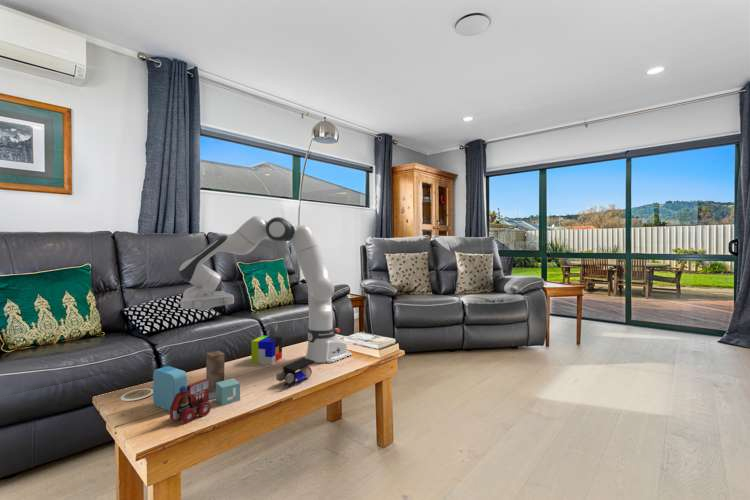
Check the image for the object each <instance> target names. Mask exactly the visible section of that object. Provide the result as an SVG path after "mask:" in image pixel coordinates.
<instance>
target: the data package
mask: <svg viewBox="0 0 750 500" xmlns="http://www.w3.org/2000/svg"><path fill="white" fill-rule="evenodd" d="M152 374H153V375H152V378H153V379H152V384H153V385H152V390H153V391H152V392H153V393H152V394H153V396H152V397H153V404H154V406H157V407H159V408H161V409H164V410H166V411H168V412H170V407H171V405H172V402H173V400H174V398H175V396H176V394H178V393H180V388H181V387H182V386H186V387H187V386H188V384H187V383H188V377H187V376H188V374H187V372H186V371H185V370H182V369H179V368H176V367H174V366H171V365H167V366H163V367H160V368H156V369H154V370H153V372H152ZM186 397H187V396H186Z"/></svg>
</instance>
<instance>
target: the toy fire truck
mask: <svg viewBox="0 0 750 500" xmlns="http://www.w3.org/2000/svg"><path fill="white" fill-rule="evenodd" d="M209 387H210V380H209V379H206V378H204V379H201V380H197V381H195V382H193V383H189V384H187V387H186V386H182V387H181V388H180V393H178V394H176V396H175V398H174V400H173V402H172V405H171V407H170V411H169V418H170V419H171V420H172V421H177V420H179V419H180V420H181V422H183V423H185V424H189V423H191V422H192V421H193V420H194V419H195V417H196V414H197V415H198V416H200V417H205V416H207V415H208V414H209V413H210V412H211V408H212V406H211V404H210V403H209V401H210V400H209ZM186 396H187V397H186Z"/></svg>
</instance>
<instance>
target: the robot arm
mask: <svg viewBox="0 0 750 500" xmlns="http://www.w3.org/2000/svg"><path fill="white" fill-rule="evenodd" d="M267 238H269V239H270V240H272V241H274V242H280V243H281V242H289V243H290V244H291V246H292V247H293V251H294V253H295V256H296V258H297V262H298V265H299V266H300V269H301V272H302V275H303V277H304V280H305V283H306V284H307V293H308V294H307V298H308V299H307V300H308V301H307V303H308V328H307V349H306V354H305V357H304V358H306V359H310V360H313V361H315V362H314V363H321V364H322V363H326V362H327V363H328V364H331V363H332V362H333V363H336V362H338V361H340V359H341V360H343V359H342V358H344V359H346V358H348V357H347V356H349V355H351V356H352V355H353V354H352V352H351V351H350V350H348V349H347V344H346V342H345V340H343V339H342V338H340V337H339V336H338V335H337V334H336V333H338V334H339V333H340V332H341V331H340V328H338V327H336V328H335V327H333V303H332V302H333V301H332V297H333V295H334V292H335V284H334V282H333V279H332V277H331V274H330V272H329V270H328V268H327V266H326V263H325V261H324V258H323V254H322V253H321V249H320V247H319V244H318V242H317V239H316V238H315V236H314V233H313V232H312V229H311V228H310V227H309V226H308V225H305V224H301V225H297V226H295V225H293V224H292V222H291V221H290V220H289V219H287V218H285V217H281V216H278V217H272V218H270V219H269V220H268V221H267V220H266V219H264V218H263V217H261V216H257V215H254V216H252V217H251V218H249V219H248V220H246V221H245V222H244V223H243V224H242V225H240V226H239V228H238V229H237V230H236V231H234V232H233V233H231V234H229V235H220V236H219V237H218V238H216V239H214V240H213V241H212V242H210V243H209V244H208V245H206V246H204V248H203V249H201V250H199V252H198V253H196V254H194V255H193V256H192V257H190V258H188V259H187V260H186V261H184V262H183V263H182V264H181V265H180V267H178V275H179V278H180V279H181V280H183V281H184V282H187V283H190V284H191V285H192V287H187V288H186V289H185V290H184V291H183V294H182V298H180V301H179V300H178V301H177V305H180V307H181V309H183V310H188V309H191V310H192V309H196V310H199V311H207V310H209V309H210V310H211V309H213V308H215V307H217V308H218V307H223V306H226V305H233V304H234V303H235V296H234V295H233V294H231V293H228V292H225V291H224V290H221V288H222V285H223V279H222V275H221V274H219V273H218V272H216V271H215V270H213V269H211V268H210V267H208V266H207V265H205V264H204V263H205V262H206V261H207V260H208V259H210V258H211V257H213V256H214V255H215V254H217V253H224V252H225V253H228V254H229V253H230V254H233V255H239V256H245V255H248V254H250V253H251V252H253V250H255V249H256V248H257V246H258V245H259V244H260V243H261V242H262V241H263V240H264V239H267ZM345 357H346V358H345ZM349 357H350V356H349ZM337 360H338V361H337ZM335 361H336V362H335ZM333 363H332V364H333Z"/></svg>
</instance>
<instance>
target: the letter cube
mask: <svg viewBox="0 0 750 500" xmlns="http://www.w3.org/2000/svg"><path fill="white" fill-rule="evenodd" d="M215 400H216V401H217V403H219V404H220V405H221V406H226V405H229V404H233V403H235V402H238V401H240V400H241V382H239V381H238V380H236V379H235V378H229V379H226V380H225V379H224V381H221V382H217V383H216V399H215Z"/></svg>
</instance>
